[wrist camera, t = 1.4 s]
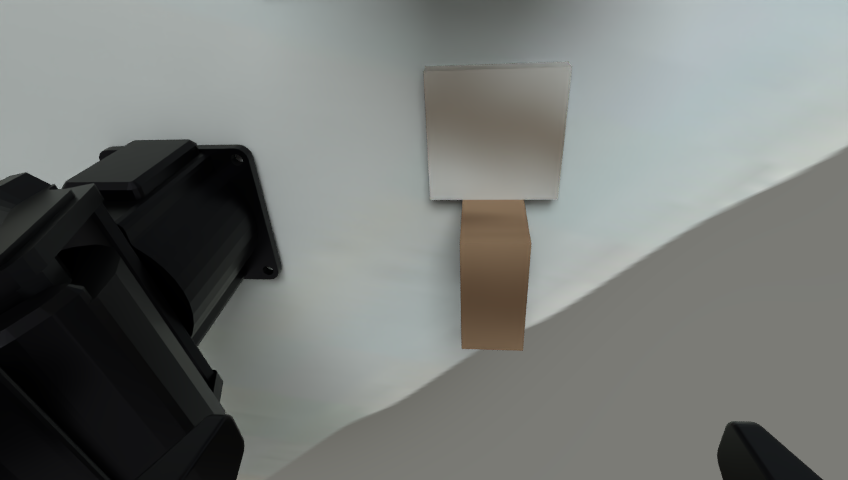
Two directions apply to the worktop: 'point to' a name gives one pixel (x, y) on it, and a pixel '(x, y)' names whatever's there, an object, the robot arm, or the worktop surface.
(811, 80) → the worktop surface
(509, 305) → the grey-capped brown block
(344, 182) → the worktop surface
